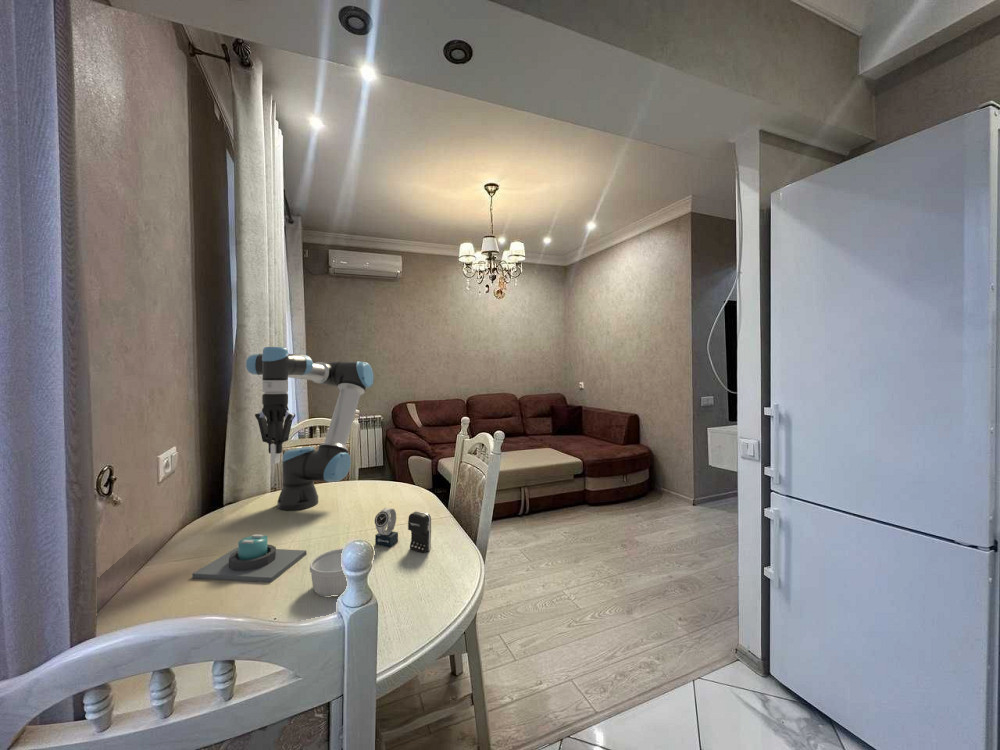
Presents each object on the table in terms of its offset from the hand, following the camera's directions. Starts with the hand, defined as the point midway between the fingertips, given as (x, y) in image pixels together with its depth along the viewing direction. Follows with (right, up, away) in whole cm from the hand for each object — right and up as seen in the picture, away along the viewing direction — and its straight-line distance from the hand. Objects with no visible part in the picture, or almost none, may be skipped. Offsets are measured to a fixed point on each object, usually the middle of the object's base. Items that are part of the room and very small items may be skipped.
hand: (275, 463), depth 133 cm
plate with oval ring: (+6, -24, -21) cm, 33 cm away
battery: (+50, -25, -11) cm, 57 cm away
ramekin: (+34, -25, -32) cm, 53 cm away
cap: (+6, -23, -21) cm, 32 cm away
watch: (+39, -25, -6) cm, 47 cm away
